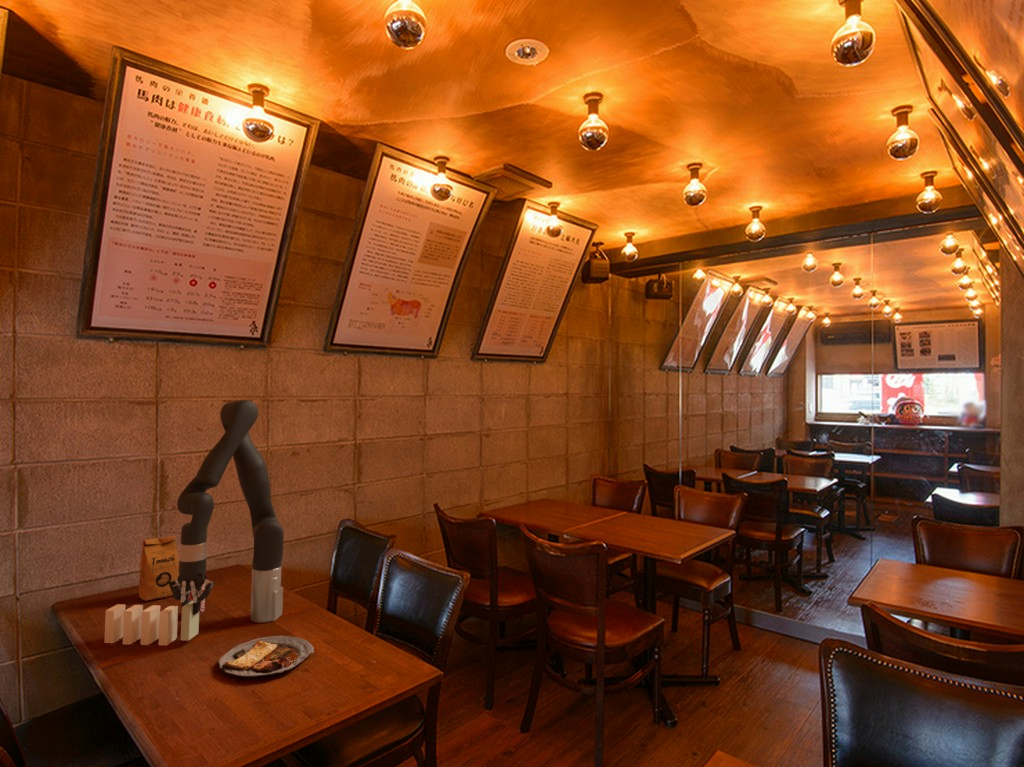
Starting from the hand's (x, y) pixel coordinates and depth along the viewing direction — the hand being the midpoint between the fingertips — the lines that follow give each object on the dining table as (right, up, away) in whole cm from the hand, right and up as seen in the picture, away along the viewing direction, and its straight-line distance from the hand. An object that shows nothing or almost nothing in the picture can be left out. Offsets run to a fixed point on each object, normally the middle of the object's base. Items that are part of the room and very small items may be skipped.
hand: (190, 613), depth 171 cm
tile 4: (-7, -9, 0) cm, 11 cm away
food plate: (+28, -10, -11) cm, 31 cm away
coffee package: (-33, -9, +36) cm, 49 cm away
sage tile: (0, -7, 0) cm, 7 cm away
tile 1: (-23, -8, 0) cm, 25 cm away
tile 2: (-18, -8, 0) cm, 20 cm away
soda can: (-11, -9, +20) cm, 24 cm away
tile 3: (-12, -8, 0) cm, 15 cm away
